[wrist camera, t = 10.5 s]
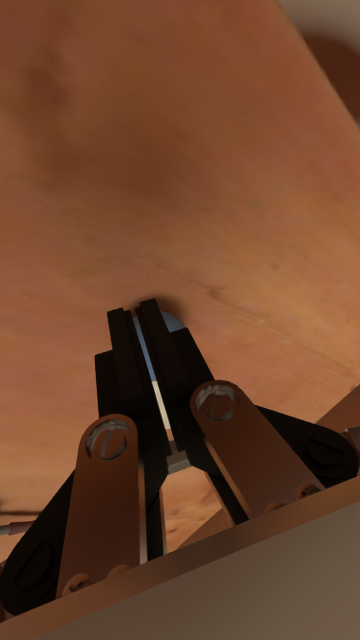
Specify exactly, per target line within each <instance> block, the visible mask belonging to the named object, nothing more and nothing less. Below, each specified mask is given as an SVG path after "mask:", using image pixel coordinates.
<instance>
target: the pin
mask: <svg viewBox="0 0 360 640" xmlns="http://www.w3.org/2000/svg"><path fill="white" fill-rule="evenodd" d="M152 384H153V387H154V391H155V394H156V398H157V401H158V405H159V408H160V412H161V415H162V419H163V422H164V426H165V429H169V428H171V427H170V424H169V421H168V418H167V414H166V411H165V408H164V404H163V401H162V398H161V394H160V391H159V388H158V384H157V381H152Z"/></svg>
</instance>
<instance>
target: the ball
mask: <svg viewBox="0 0 360 640" xmlns="http://www.w3.org/2000/svg"><path fill="white" fill-rule="evenodd" d="M161 314H162V316H163V318H164V321H165V323H166V325H167V328H168V330H169V332H172V331H176V330H179V329H182V328H185V326H184V325H183V323H182V322H181V321H180V320H179V319H178V318H176V317H175V316H173V315H172V314H170V313H167V312H164V311H161ZM133 321H134V325H135V328H136V331H137V334H138V337H139V341H140V344H141V347H142V350H143V354H144V357H145V360H146V363H147V366H148V370H149V373H150V377H151V380H152V381H156V378H155V374H154V371H153V368H152V365H151V361H150V358H149V354H148V351H147V348H146V344H145V341H144V338H143V334H142V331H141V328H140V324H139V321H138V318H137V315H136V316H135V317H134V318H133Z"/></svg>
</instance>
